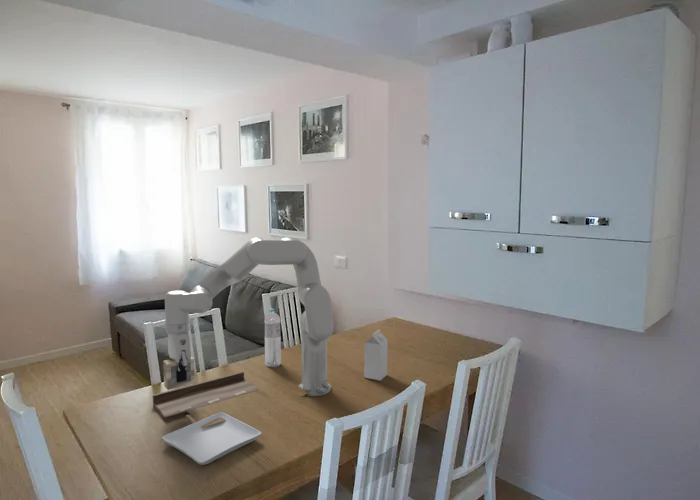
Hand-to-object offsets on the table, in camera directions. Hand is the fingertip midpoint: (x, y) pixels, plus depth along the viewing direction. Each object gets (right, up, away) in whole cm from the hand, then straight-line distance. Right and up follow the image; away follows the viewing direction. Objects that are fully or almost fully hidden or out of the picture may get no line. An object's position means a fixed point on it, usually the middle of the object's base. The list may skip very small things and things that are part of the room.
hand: (179, 378), depth 154 cm
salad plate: (+18, -14, -20) cm, 30 cm away
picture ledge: (+7, -10, +8) cm, 15 cm away
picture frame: (0, -2, 0) cm, 2 cm away
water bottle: (+25, -6, +42) cm, 49 cm away
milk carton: (+69, -8, +30) cm, 76 cm away
